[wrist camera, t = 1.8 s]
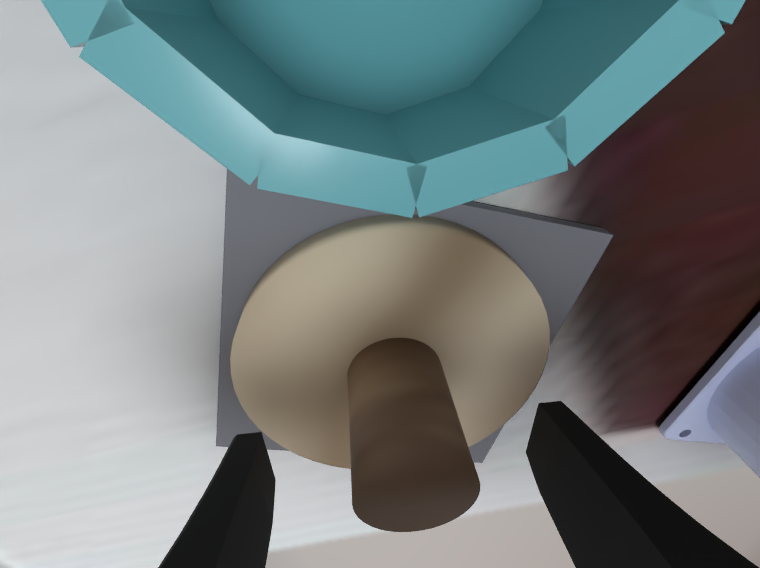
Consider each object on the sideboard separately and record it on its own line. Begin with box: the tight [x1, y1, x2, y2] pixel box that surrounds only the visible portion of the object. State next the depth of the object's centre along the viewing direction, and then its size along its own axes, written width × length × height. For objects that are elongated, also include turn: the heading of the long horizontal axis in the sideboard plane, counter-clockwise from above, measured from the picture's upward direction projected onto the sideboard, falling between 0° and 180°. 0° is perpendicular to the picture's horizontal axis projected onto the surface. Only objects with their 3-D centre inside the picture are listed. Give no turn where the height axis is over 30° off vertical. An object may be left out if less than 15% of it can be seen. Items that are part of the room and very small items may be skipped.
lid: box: [230, 215, 550, 532], centre depth 11 cm, size 10×10×5 cm
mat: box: [216, 169, 613, 463], centre depth 14 cm, size 11×11×1 cm
